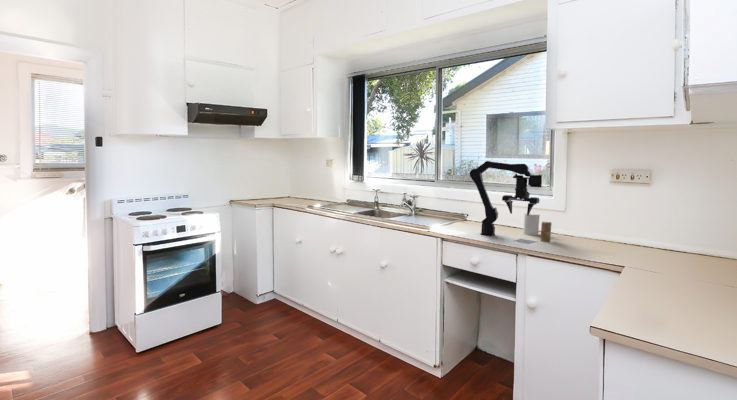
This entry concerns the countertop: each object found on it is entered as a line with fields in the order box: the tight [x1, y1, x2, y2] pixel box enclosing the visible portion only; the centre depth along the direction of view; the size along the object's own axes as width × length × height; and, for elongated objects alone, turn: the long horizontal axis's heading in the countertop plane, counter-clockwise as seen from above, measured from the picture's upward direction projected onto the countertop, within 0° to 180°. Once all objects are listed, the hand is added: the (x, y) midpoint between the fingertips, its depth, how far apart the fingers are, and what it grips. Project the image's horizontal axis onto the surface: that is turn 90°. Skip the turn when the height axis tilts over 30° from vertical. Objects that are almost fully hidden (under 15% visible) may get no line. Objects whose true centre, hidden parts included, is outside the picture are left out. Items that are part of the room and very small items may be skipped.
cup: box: [522, 212, 541, 236], centre depth 237 cm, size 8×8×12 cm
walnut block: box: [540, 221, 553, 243], centre depth 218 cm, size 4×4×10 cm
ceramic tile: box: [536, 238, 555, 244], centre depth 219 cm, size 8×8×1 cm
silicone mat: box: [513, 238, 538, 245], centre depth 217 cm, size 9×9×1 cm
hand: (519, 214), depth 225 cm, fingers open, 9 cm apart
